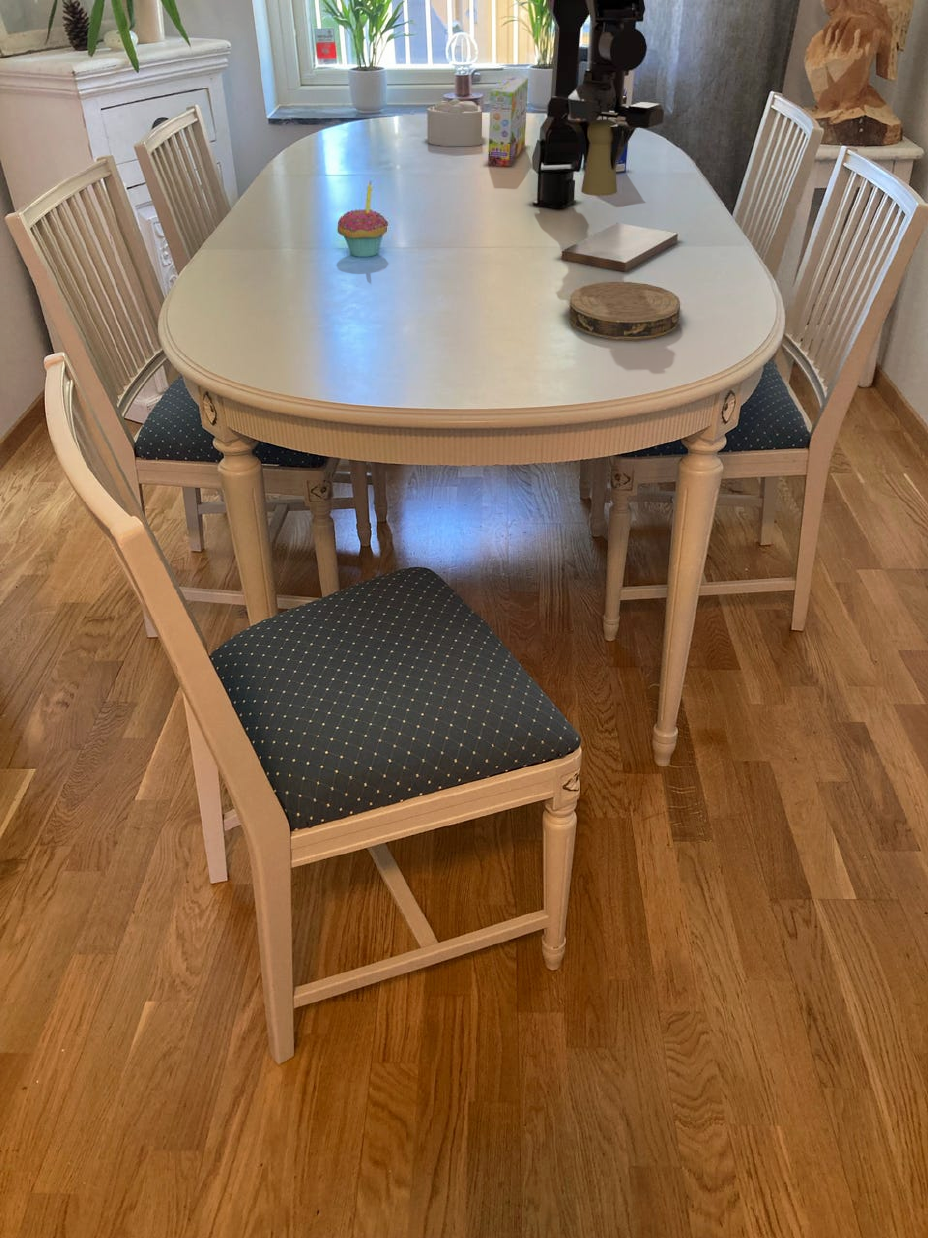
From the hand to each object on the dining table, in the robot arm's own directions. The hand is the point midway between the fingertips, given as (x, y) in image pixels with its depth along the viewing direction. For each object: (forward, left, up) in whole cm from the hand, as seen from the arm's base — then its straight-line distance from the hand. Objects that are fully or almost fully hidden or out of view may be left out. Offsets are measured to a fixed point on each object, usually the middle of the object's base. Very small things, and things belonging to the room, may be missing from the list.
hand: (600, 167), depth 173 cm
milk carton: (-26, +51, -13) cm, 59 cm away
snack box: (-51, +51, -13) cm, 73 cm away
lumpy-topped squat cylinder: (-70, +57, -13) cm, 91 cm away
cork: (0, 0, -4) cm, 4 cm away
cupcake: (-32, -25, -13) cm, 42 cm away
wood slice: (+20, -29, -13) cm, 38 cm away
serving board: (+4, +1, -13) cm, 14 cm away
